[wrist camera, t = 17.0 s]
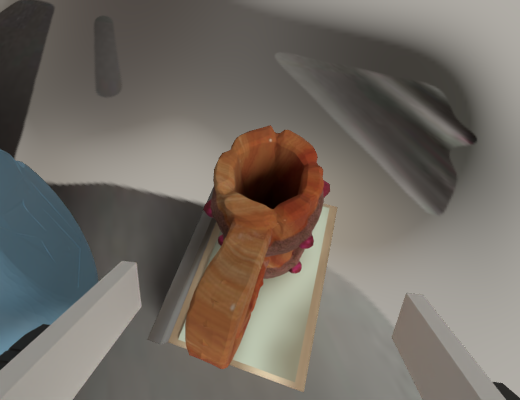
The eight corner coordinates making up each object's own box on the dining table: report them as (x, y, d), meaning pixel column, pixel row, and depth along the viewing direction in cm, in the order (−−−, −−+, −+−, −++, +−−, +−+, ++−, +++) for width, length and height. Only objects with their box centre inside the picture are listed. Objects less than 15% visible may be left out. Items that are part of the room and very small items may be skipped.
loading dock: (171, 334, 26) (147, 339, 21) (228, 192, 34) (221, 169, 28) (297, 380, 24) (307, 399, 19) (329, 219, 32) (342, 199, 26)
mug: (247, 193, 29) (232, 84, 15) (314, 215, 27) (363, 117, 14) (190, 324, 23) (84, 337, 9) (272, 359, 22) (287, 433, 8)
